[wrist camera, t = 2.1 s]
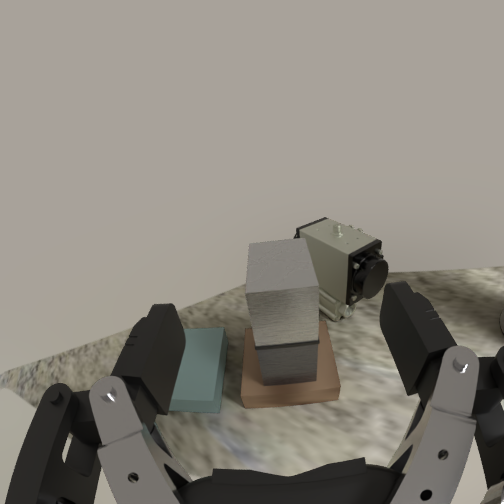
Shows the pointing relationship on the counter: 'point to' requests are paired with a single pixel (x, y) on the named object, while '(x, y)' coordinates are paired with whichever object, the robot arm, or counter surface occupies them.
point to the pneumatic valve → (343, 265)
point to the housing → (284, 310)
